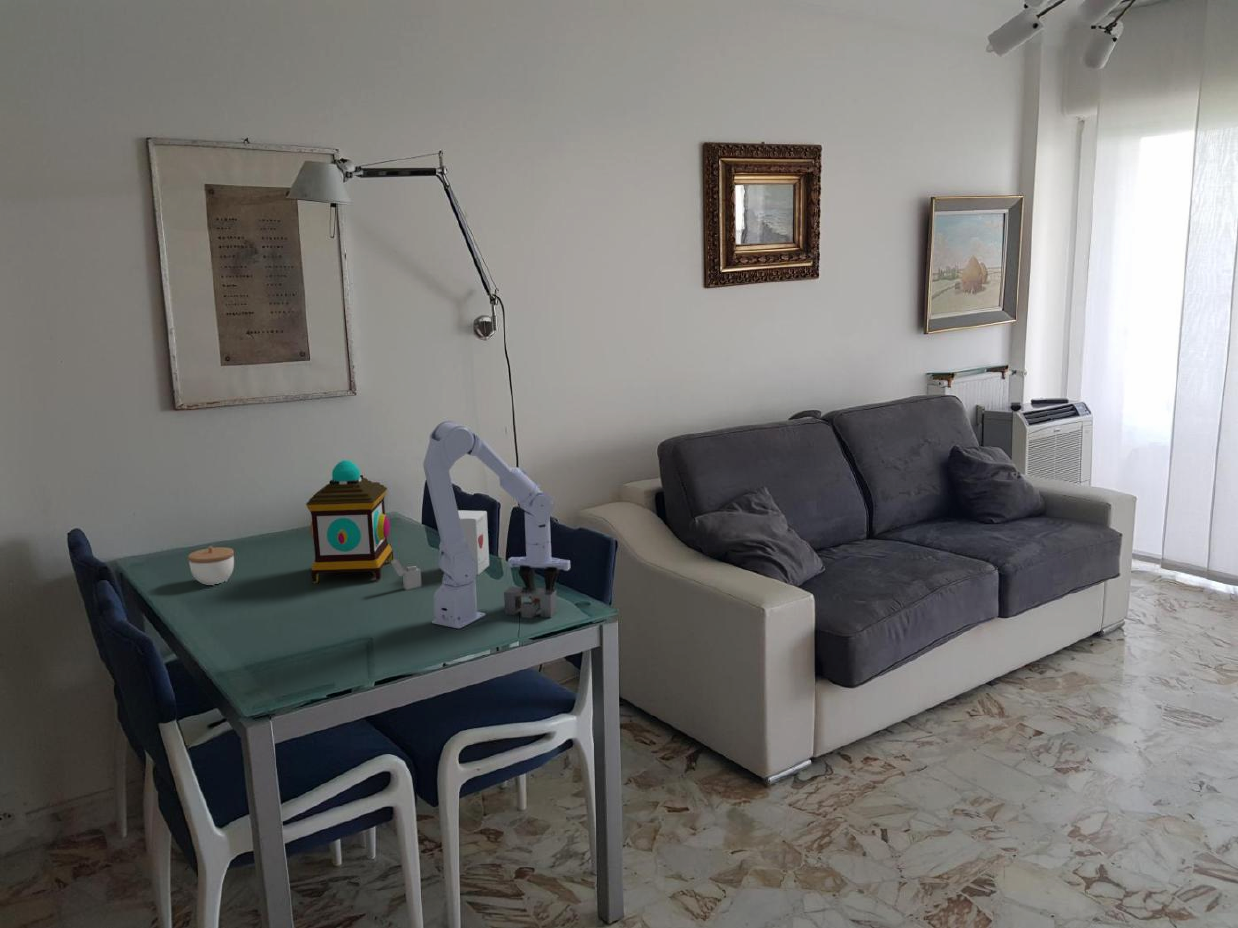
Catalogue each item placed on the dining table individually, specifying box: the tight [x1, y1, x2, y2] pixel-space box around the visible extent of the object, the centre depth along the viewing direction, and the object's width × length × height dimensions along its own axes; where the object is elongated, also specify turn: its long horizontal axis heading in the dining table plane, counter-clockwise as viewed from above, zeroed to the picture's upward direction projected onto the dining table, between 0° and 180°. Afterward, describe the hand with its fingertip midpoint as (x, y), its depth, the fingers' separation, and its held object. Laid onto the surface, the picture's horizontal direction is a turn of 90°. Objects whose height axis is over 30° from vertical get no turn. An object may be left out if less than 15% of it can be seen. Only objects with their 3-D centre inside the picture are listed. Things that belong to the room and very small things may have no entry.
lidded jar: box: [187, 545, 235, 586], centre depth 243 cm, size 11×11×9 cm
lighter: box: [390, 558, 422, 591], centre depth 234 cm, size 7×2×8 cm, turn 128°
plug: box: [520, 597, 540, 619], centre depth 217 cm, size 11×4×3 cm, turn 165°
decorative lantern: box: [305, 459, 394, 584], centre depth 246 cm, size 20×20×30 cm
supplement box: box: [458, 509, 490, 576], centre depth 248 cm, size 9×9×15 cm
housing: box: [503, 586, 558, 619], centre depth 215 cm, size 4×11×5 cm, turn 75°
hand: (540, 597), depth 221 cm, fingers closed on plug, 4 cm apart
